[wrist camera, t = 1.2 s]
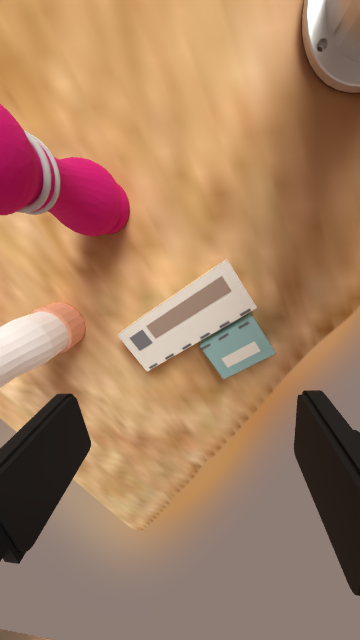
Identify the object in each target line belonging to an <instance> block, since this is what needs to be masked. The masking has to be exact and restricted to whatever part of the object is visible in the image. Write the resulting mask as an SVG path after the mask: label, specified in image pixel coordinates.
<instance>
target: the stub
mask: <svg viewBox="0 0 360 640" xmlns="http://www.w3.org/2000/svg"><path fill="white" fill-rule="evenodd" d="M200 348H201V349H202V350H203V352H204V353H205V354H206V356H207V357H208V359H209V360H210V361H211V363H212V364H213V366H214V367H215V368H216V370H217V371H218V372H219V374H220V375H221V377H222V378H223V379H225V378H227V377H230V376H232V375H234V374H236V373H238V372H240V371H242V370H244V369H246V368H248V367H250V366H252V365H254V364H256V363H258V362H260V361H262V360H264V359H266V358H268V357H270V356H272V355H274V354H276V352H275V351H274V349H273V348H272V346H271V344H270V343H269V341H268V340H267V338H266V336H265V335H264V333H263V332H262V330H261V329H260V327H259V325H258V324H257V322H256V321H255V319H254V318H253V316H252V314H251V313H250V312H249V313H248V314H246V315H244V316H242V317H241V318H239V319H237V320H235V321H234V322H232V323H230V324H229V325H227V326H225V327H223V328H222V329H220V330H218V331H216V332H215V333H213V334H211V335H210V336H208V337H206V338H204V339H203V340H201V345H200Z"/></svg>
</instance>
